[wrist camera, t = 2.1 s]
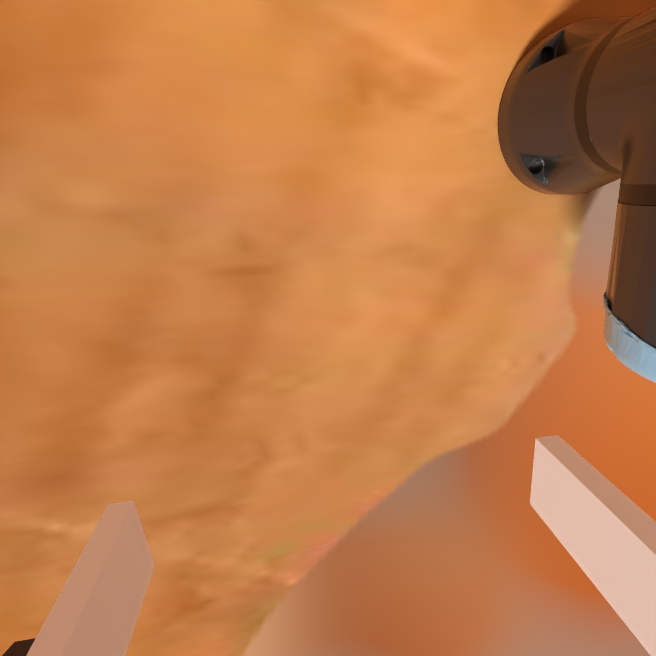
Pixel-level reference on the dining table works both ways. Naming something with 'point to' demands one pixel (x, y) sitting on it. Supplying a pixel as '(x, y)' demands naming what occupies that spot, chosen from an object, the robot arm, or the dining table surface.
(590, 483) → the robot arm
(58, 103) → the dining table surface
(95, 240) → the dining table surface
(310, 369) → the dining table surface
